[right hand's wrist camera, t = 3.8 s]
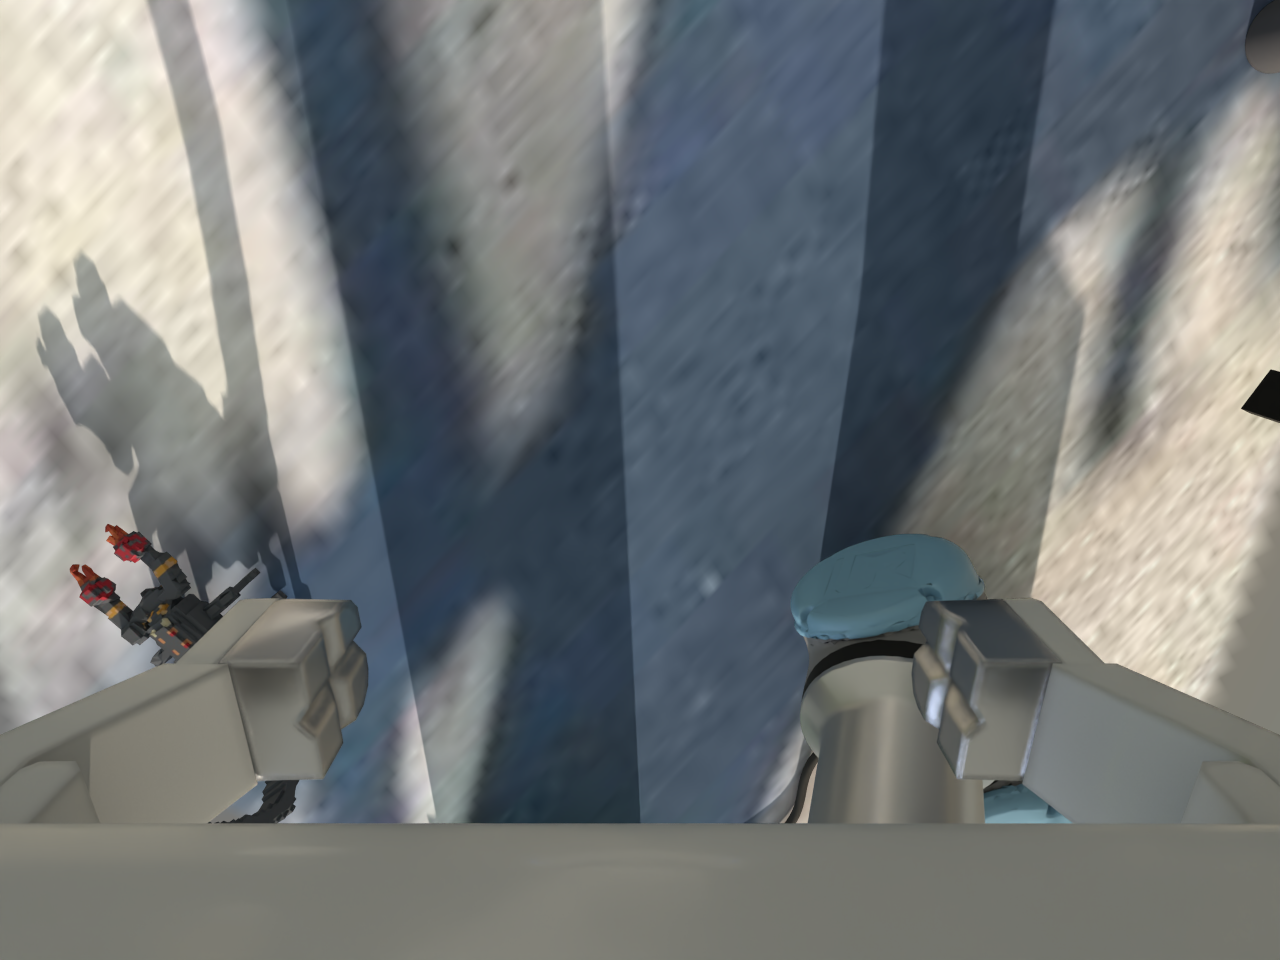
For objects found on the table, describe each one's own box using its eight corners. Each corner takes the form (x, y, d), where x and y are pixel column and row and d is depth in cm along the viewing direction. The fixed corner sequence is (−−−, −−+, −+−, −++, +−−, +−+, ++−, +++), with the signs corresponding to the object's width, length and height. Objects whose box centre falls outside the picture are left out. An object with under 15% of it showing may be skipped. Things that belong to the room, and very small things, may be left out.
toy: (293, 753, 72) (185, 925, 54) (67, 569, 64) (-142, 703, 47) (386, 684, 68) (302, 845, 51) (160, 483, 61) (-26, 593, 44)
